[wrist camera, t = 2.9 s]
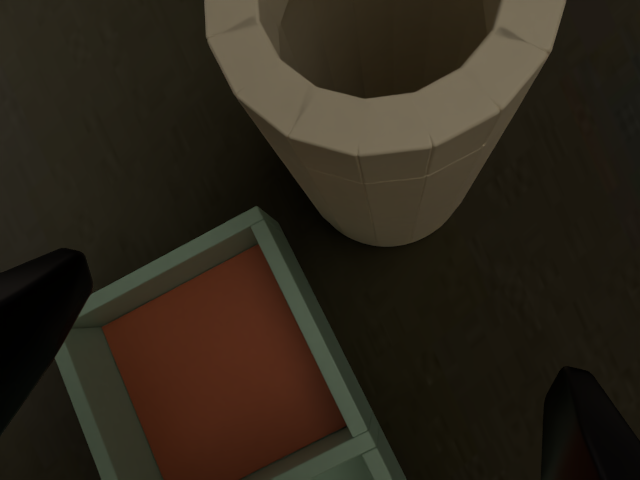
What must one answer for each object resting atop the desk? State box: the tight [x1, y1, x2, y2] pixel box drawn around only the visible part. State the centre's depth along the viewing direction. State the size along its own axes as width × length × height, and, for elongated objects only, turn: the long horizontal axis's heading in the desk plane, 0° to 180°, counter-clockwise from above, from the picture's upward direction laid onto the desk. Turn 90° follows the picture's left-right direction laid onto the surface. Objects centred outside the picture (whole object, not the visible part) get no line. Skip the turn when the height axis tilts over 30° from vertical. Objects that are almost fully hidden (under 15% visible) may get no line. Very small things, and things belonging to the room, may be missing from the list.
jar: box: [204, 0, 566, 247], centre depth 16 cm, size 7×7×13 cm
